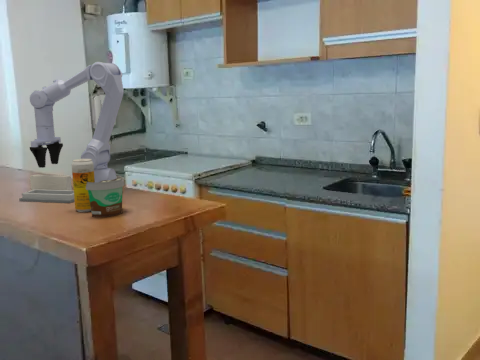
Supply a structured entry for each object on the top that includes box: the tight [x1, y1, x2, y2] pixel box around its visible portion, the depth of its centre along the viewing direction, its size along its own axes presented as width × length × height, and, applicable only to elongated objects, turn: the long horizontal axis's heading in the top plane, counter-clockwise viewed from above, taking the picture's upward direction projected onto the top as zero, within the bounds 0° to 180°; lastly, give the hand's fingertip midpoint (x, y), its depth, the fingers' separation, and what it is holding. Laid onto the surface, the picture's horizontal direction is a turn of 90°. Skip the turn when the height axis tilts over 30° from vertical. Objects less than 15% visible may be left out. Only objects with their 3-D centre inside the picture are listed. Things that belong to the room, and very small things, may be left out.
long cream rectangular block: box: [29, 174, 73, 191], centre depth 172 cm, size 14×3×6 cm, turn 77°
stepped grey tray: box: [18, 189, 75, 204], centre depth 161 cm, size 18×9×2 cm, turn 77°
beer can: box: [71, 158, 95, 213], centre depth 144 cm, size 6×6×15 cm
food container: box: [86, 175, 126, 218], centre depth 140 cm, size 12×6×10 cm, turn 148°
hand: (48, 165), depth 171 cm, fingers open, 7 cm apart
